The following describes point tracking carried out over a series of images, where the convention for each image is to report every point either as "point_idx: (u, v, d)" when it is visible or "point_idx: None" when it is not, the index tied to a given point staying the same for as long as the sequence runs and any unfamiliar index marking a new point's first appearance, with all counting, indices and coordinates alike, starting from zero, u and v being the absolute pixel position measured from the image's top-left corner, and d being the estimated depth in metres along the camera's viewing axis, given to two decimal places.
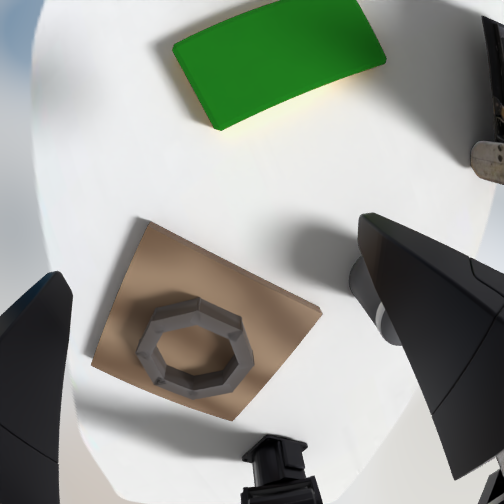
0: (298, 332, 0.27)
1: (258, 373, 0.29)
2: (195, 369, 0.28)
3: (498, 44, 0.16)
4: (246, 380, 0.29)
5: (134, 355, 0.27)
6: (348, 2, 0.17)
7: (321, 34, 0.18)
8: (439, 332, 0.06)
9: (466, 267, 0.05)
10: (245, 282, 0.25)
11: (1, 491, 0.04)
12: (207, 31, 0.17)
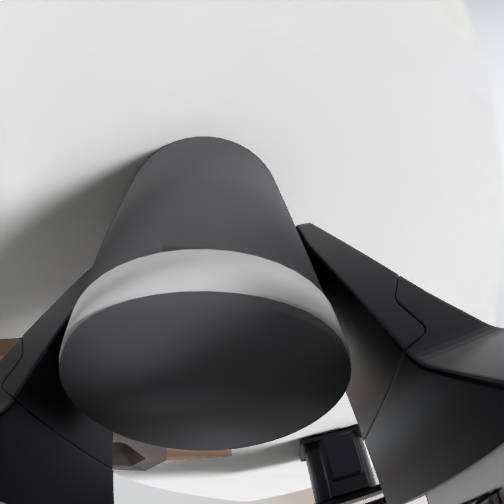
0: None
1: None
2: None
3: None
4: None
5: None
6: None
7: None
8: (359, 357, 0.06)
9: (389, 288, 0.05)
10: None
11: None
12: None
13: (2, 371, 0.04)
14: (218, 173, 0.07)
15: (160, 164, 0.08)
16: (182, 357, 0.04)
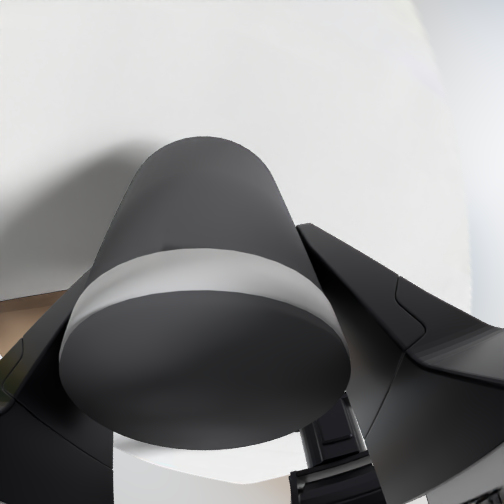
0: None
1: None
2: None
3: None
4: None
5: None
6: None
7: None
8: (359, 357, 0.06)
9: (389, 288, 0.05)
10: None
11: None
12: None
13: (2, 371, 0.04)
14: (218, 172, 0.07)
15: (160, 163, 0.08)
16: (182, 356, 0.04)
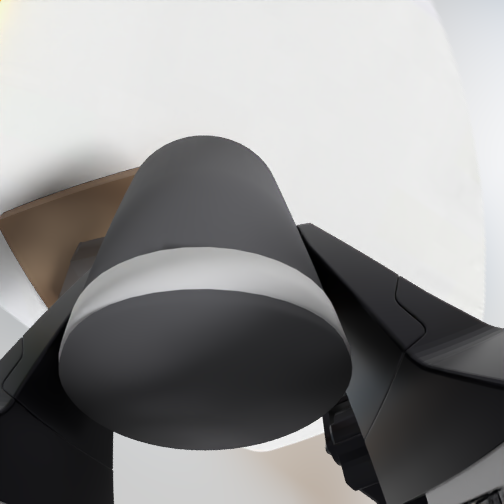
0: None
1: None
2: None
3: None
4: None
5: None
6: None
7: None
8: (359, 357, 0.06)
9: (389, 288, 0.05)
10: (96, 193, 0.17)
11: None
12: None
13: (2, 371, 0.04)
14: (218, 171, 0.07)
15: (160, 162, 0.08)
16: (182, 356, 0.04)
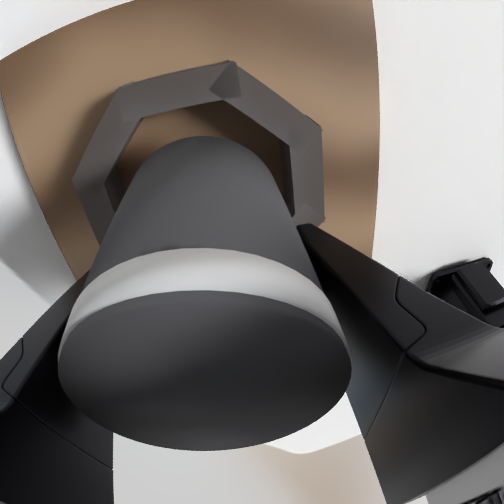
0: (357, 33, 0.10)
1: (351, 159, 0.13)
2: None
3: None
4: (341, 188, 0.14)
5: None
6: None
7: None
8: (359, 357, 0.06)
9: (389, 288, 0.05)
10: None
11: None
12: None
13: (2, 371, 0.04)
14: (218, 172, 0.07)
15: (160, 163, 0.08)
16: (182, 356, 0.04)
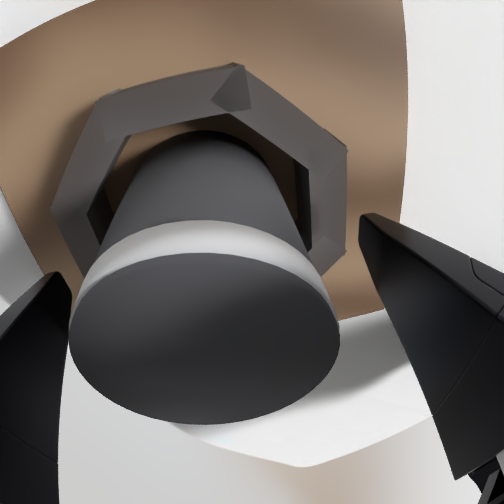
0: (385, 34, 0.08)
1: (375, 180, 0.12)
2: None
3: None
4: (361, 212, 0.12)
5: None
6: None
7: None
8: (440, 332, 0.06)
9: (467, 267, 0.05)
10: None
11: (0, 491, 0.04)
12: None
13: None
14: (217, 161, 0.08)
15: (164, 154, 0.08)
16: (184, 317, 0.05)
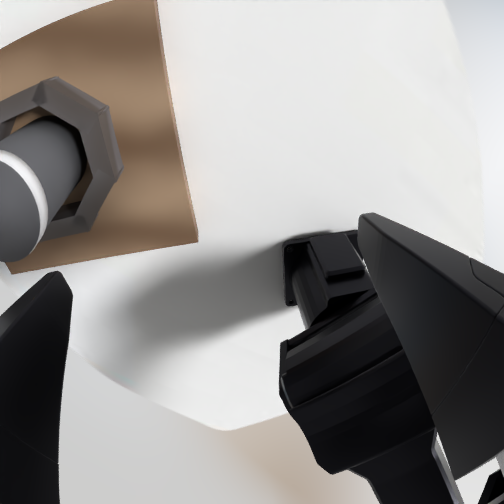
0: (142, 35, 0.13)
1: (150, 134, 0.16)
2: (78, 189, 0.17)
3: None
4: (146, 157, 0.17)
5: None
6: None
7: None
8: (439, 332, 0.06)
9: (466, 267, 0.05)
10: (31, 40, 0.11)
11: (1, 491, 0.04)
12: None
13: None
14: (27, 129, 0.12)
15: None
16: None
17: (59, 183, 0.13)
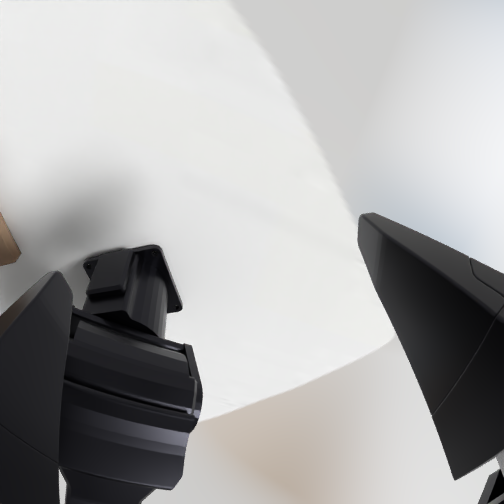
0: None
1: None
2: None
3: None
4: None
5: None
6: None
7: None
8: (439, 332, 0.06)
9: (466, 267, 0.05)
10: None
11: (1, 491, 0.04)
12: None
13: None
14: None
15: None
16: None
17: None
